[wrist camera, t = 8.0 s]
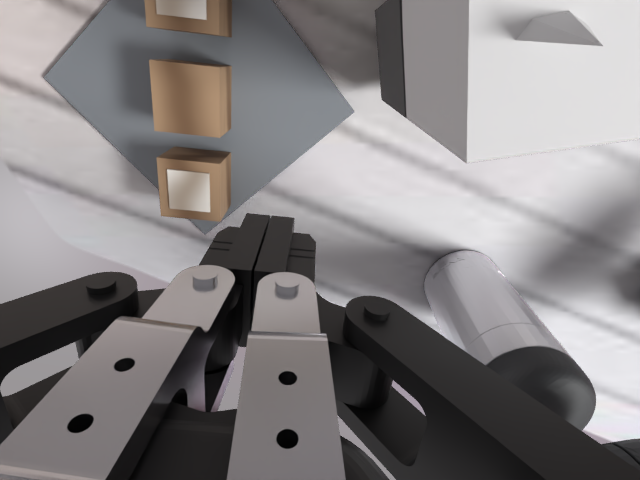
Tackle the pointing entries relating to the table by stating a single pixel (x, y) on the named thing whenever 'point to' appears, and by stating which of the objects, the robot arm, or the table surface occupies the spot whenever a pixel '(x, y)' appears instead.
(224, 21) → the marked block 1
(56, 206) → the table surface
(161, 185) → the marked block 2
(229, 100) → the plain block
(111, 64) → the mat
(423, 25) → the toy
